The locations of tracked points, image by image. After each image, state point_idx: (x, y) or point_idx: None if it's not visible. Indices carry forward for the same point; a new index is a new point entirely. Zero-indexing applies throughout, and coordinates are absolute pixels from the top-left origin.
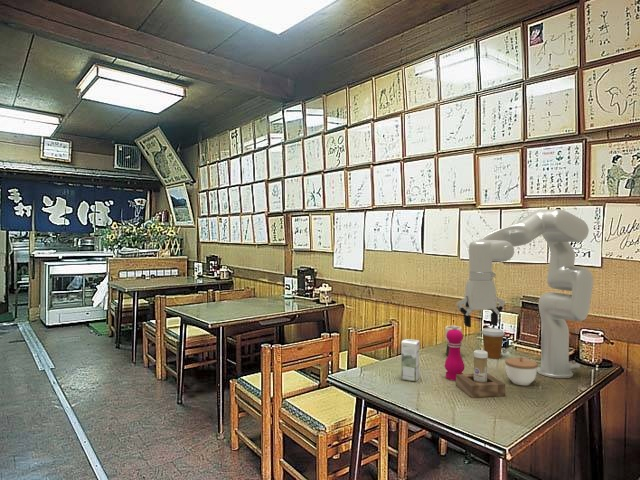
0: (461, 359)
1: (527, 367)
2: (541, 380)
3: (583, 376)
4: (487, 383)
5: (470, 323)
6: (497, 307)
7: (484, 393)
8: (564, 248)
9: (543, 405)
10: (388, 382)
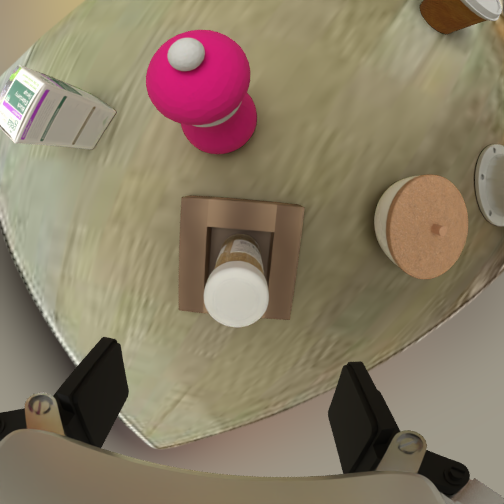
0: (234, 132)
1: (415, 277)
2: None
3: None
4: None
5: (117, 410)
6: (436, 485)
7: None
8: None
9: (331, 364)
10: (38, 148)
